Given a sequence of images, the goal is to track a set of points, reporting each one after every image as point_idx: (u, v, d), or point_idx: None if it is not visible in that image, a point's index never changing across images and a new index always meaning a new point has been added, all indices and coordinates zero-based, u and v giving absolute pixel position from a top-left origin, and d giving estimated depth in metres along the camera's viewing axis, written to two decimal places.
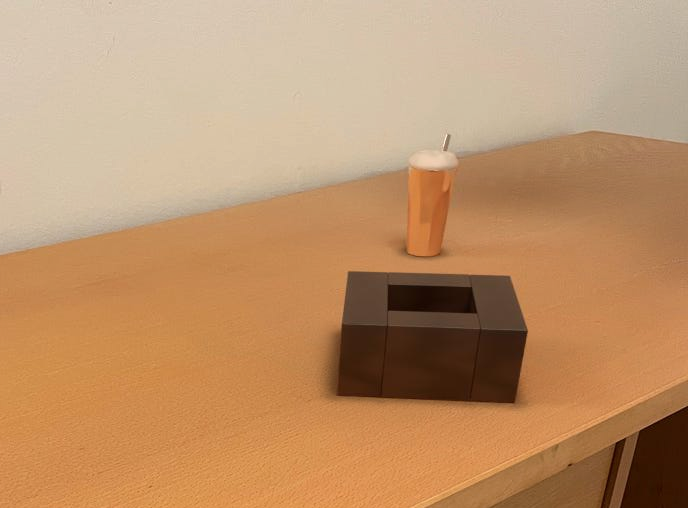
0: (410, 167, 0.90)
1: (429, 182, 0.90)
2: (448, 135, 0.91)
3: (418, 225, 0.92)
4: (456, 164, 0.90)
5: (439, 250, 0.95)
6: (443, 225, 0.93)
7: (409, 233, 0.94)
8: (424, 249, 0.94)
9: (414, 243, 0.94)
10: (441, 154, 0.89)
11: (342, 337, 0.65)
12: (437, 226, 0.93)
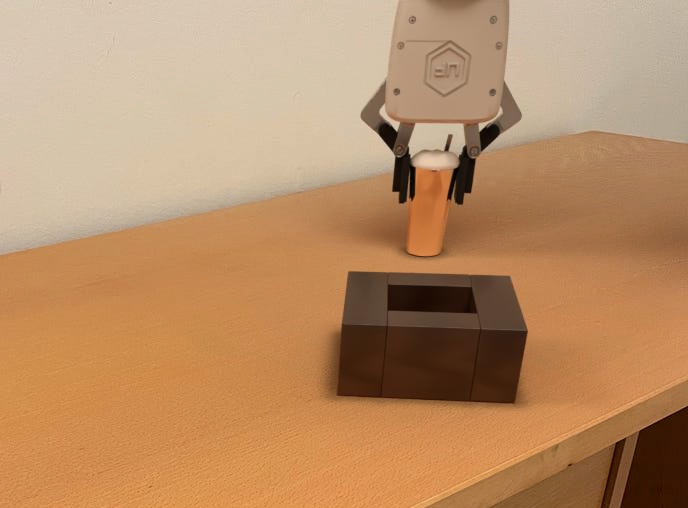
0: (412, 166, 0.90)
1: (430, 182, 0.90)
2: (450, 135, 0.91)
3: (419, 224, 0.92)
4: (457, 164, 0.90)
5: (439, 250, 0.95)
6: (443, 225, 0.93)
7: (409, 232, 0.94)
8: (424, 249, 0.94)
9: (414, 242, 0.94)
10: (443, 154, 0.89)
11: (342, 337, 0.65)
12: (438, 226, 0.93)
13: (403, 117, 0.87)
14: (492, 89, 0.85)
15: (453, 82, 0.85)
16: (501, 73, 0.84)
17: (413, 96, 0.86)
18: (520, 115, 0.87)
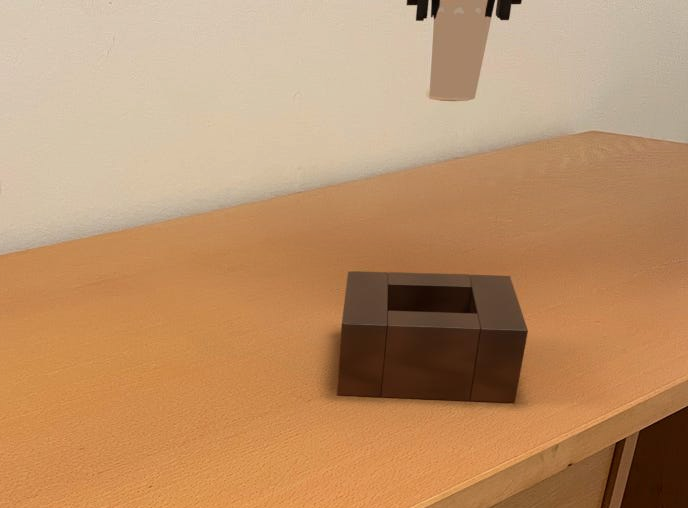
0: None
1: None
2: None
3: (444, 52, 0.64)
4: None
5: (473, 93, 0.66)
6: (480, 54, 0.65)
7: (431, 67, 0.65)
8: (452, 90, 0.65)
9: (438, 81, 0.66)
10: None
11: (342, 337, 0.65)
12: (472, 54, 0.64)
13: None
14: None
15: None
16: None
17: None
18: None
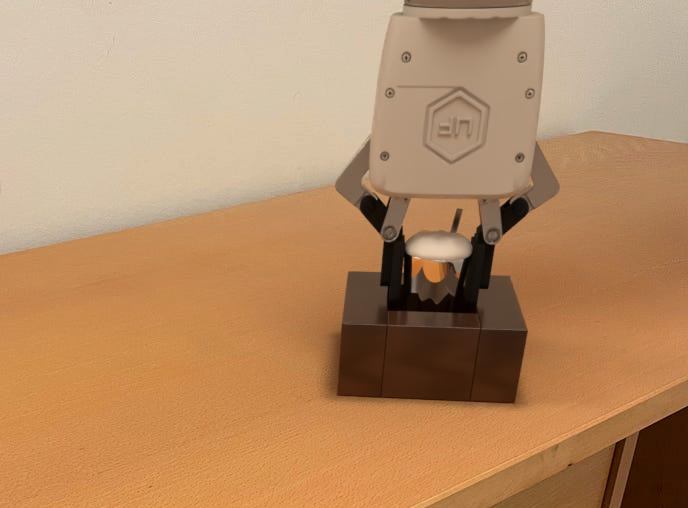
0: (406, 254, 0.66)
1: (432, 276, 0.65)
2: (459, 210, 0.67)
3: None
4: (469, 252, 0.65)
5: None
6: None
7: None
8: None
9: None
10: (450, 239, 0.64)
11: (342, 337, 0.65)
12: None
13: (394, 190, 0.62)
14: (519, 153, 0.60)
15: (464, 144, 0.60)
16: (532, 132, 0.59)
17: (408, 162, 0.61)
18: (557, 187, 0.62)
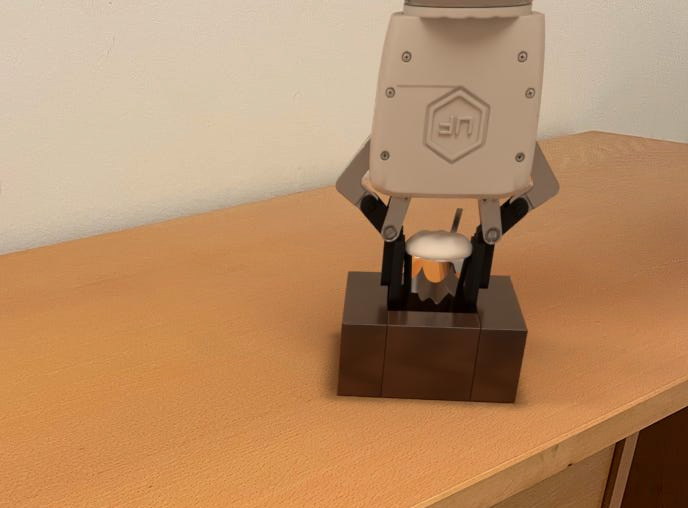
0: (407, 254, 0.66)
1: (432, 276, 0.65)
2: (459, 210, 0.67)
3: None
4: (469, 251, 0.65)
5: None
6: None
7: None
8: None
9: None
10: (450, 238, 0.64)
11: (342, 337, 0.65)
12: None
13: (394, 190, 0.62)
14: (519, 153, 0.60)
15: (465, 144, 0.60)
16: (533, 131, 0.59)
17: (408, 162, 0.61)
18: (557, 187, 0.62)
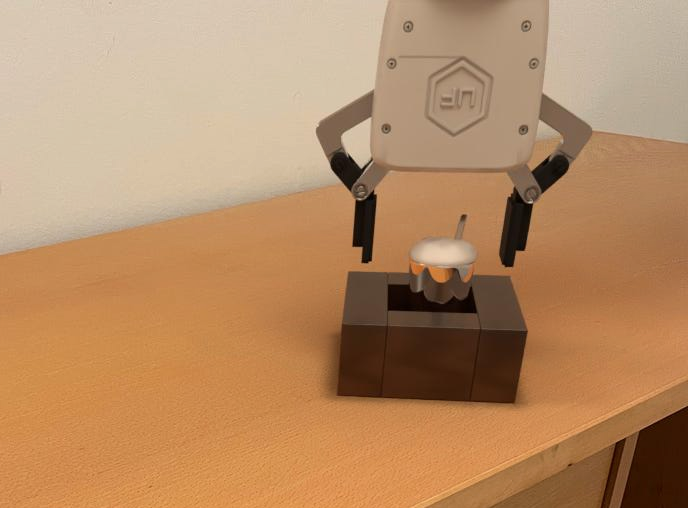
0: (411, 261, 0.66)
1: (437, 282, 0.65)
2: (463, 216, 0.67)
3: None
4: (474, 257, 0.65)
5: None
6: None
7: None
8: None
9: None
10: (454, 245, 0.65)
11: (342, 337, 0.65)
12: None
13: (396, 164, 0.61)
14: (523, 125, 0.59)
15: (467, 116, 0.59)
16: (536, 103, 0.58)
17: (410, 135, 0.60)
18: (589, 129, 0.60)
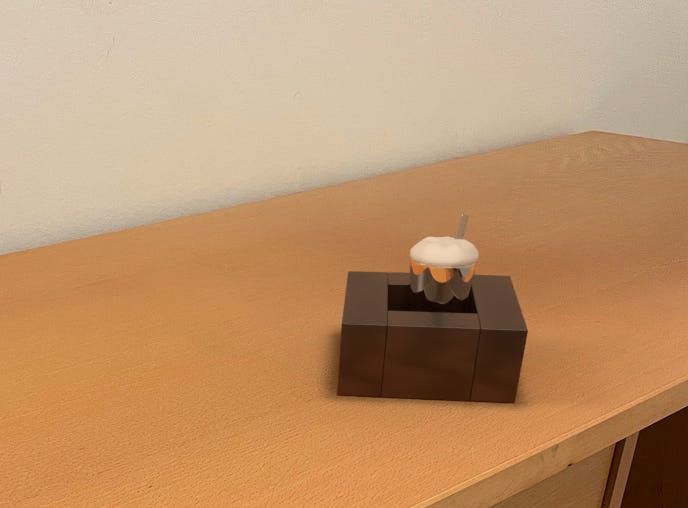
0: (412, 261, 0.66)
1: (438, 282, 0.65)
2: (465, 216, 0.67)
3: None
4: (475, 258, 0.65)
5: None
6: None
7: None
8: None
9: None
10: (455, 245, 0.64)
11: (342, 337, 0.65)
12: None
13: None
14: None
15: None
16: None
17: None
18: None
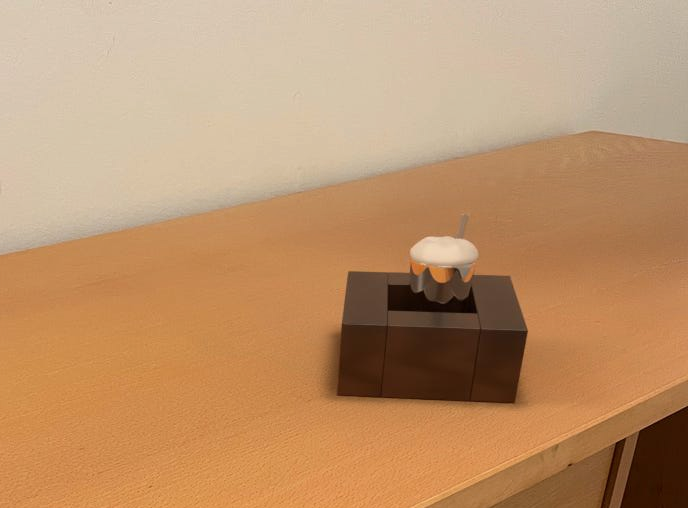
0: (412, 260, 0.66)
1: (438, 282, 0.65)
2: (465, 216, 0.67)
3: None
4: (475, 257, 0.65)
5: None
6: None
7: None
8: None
9: None
10: (455, 245, 0.65)
11: (342, 337, 0.65)
12: None
13: None
14: None
15: None
16: None
17: None
18: None
